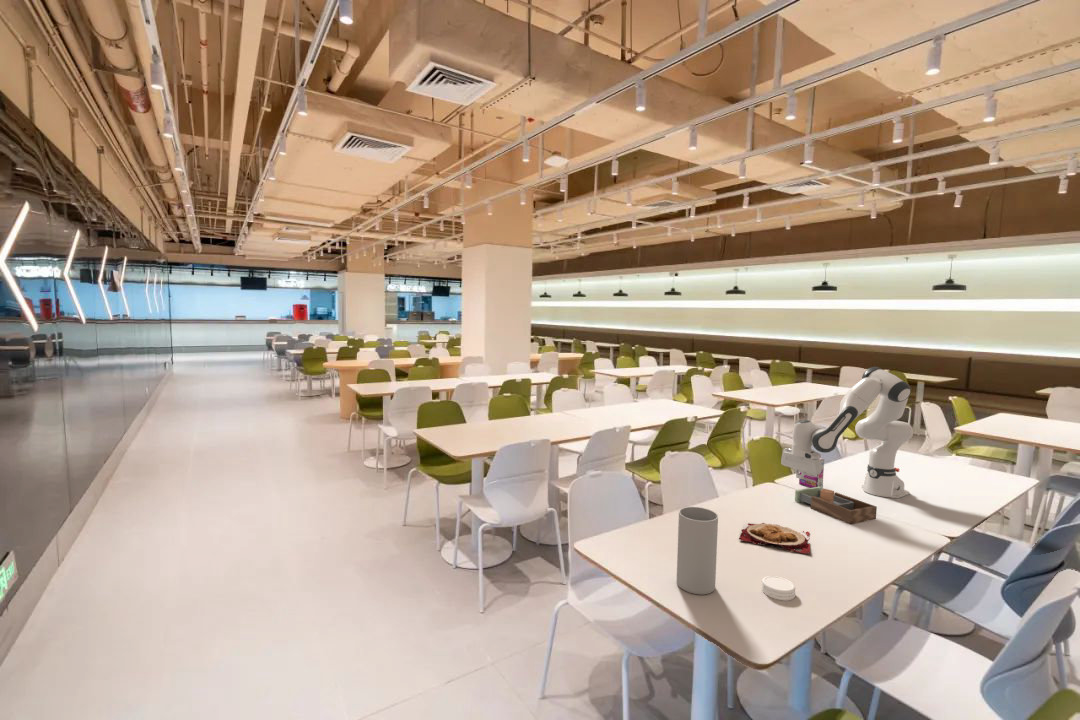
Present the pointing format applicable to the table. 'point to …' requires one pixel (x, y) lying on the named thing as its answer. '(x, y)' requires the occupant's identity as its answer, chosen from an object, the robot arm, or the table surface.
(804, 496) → the grey drawer
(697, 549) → the cylinder vase
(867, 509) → the organiser housing
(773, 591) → the coaster
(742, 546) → the table surface
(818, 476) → the candy bar box
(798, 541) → the plate with food
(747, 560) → the table surface
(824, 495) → the terracotta block
